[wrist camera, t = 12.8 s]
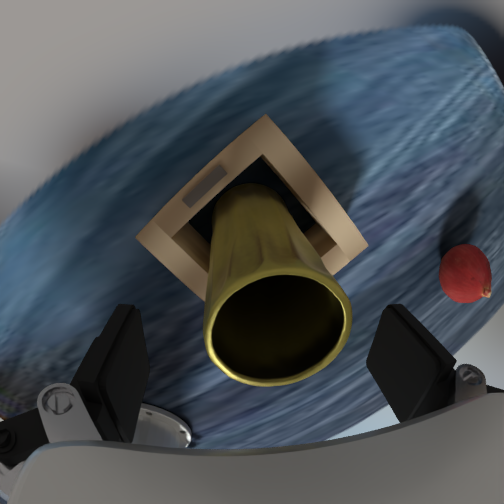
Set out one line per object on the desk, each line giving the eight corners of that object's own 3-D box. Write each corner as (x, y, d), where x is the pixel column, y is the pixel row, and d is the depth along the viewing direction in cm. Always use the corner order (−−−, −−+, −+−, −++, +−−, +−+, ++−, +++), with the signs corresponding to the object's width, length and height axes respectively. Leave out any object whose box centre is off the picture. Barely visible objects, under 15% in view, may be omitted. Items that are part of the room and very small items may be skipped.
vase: (212, 257, 23) (198, 396, 10) (210, 183, 21) (179, 254, 8) (286, 255, 24) (346, 385, 10) (290, 182, 21) (380, 250, 8)
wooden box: (342, 224, 23) (370, 247, 18) (245, 304, 25) (249, 341, 20) (257, 120, 19) (266, 113, 15) (153, 216, 22) (133, 238, 17)
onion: (455, 223, 24) (507, 251, 16) (465, 261, 26) (509, 293, 18) (418, 255, 25) (468, 293, 17) (432, 291, 27) (473, 331, 19)
